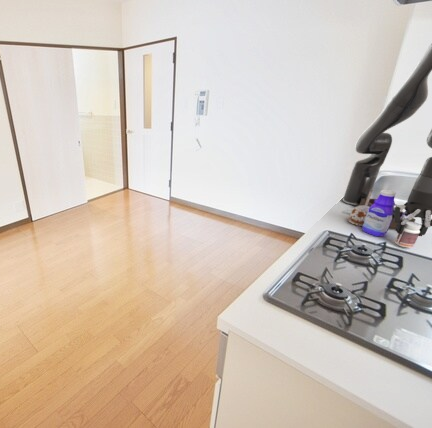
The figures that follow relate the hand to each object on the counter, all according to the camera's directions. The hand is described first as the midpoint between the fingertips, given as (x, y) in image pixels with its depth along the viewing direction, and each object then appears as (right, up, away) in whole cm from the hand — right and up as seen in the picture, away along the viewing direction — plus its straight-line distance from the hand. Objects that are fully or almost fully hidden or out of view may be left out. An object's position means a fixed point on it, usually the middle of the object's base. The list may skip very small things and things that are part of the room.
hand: (408, 233), depth 98 cm
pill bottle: (0, -4, +2) cm, 5 cm away
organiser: (+13, +5, +22) cm, 26 cm away
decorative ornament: (0, +3, +19) cm, 20 cm away
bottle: (-1, -1, +12) cm, 12 cm away
